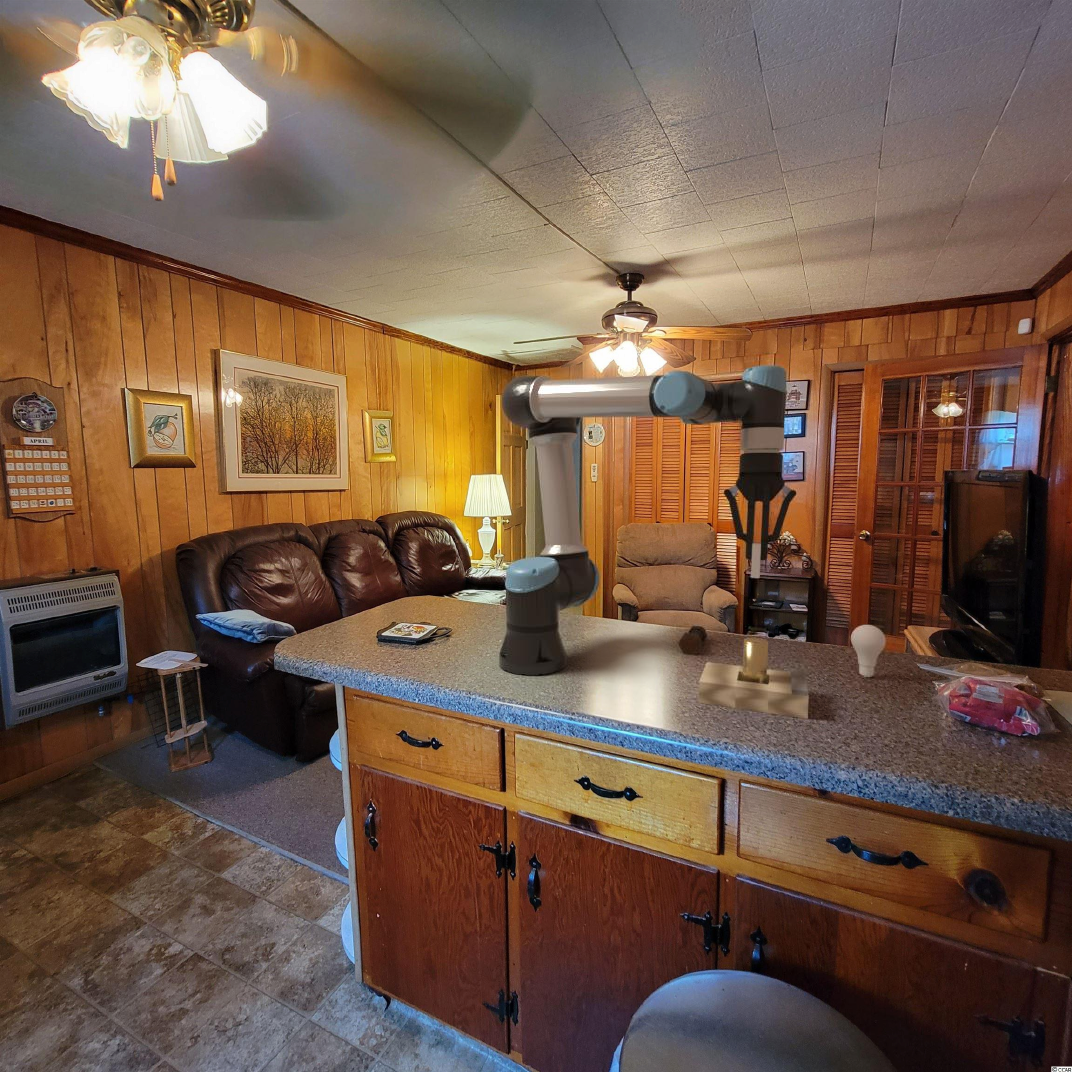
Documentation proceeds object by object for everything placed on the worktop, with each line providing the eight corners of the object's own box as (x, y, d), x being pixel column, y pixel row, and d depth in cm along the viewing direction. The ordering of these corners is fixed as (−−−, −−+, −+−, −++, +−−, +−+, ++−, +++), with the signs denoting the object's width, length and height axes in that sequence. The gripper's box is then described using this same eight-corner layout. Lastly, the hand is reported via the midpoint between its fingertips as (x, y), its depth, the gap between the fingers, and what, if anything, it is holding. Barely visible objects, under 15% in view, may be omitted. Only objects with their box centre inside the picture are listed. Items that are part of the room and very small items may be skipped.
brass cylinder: (741, 700, 102) (743, 642, 101) (741, 692, 106) (744, 636, 105) (765, 704, 100) (768, 644, 99) (765, 696, 104) (767, 639, 103)
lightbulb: (854, 670, 118) (856, 620, 117) (887, 677, 114) (890, 625, 112) (845, 677, 114) (847, 625, 113) (878, 685, 109) (881, 630, 108)
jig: (698, 702, 101) (699, 677, 101) (706, 681, 112) (707, 658, 112) (807, 718, 94) (808, 691, 93) (804, 694, 105) (805, 669, 104)
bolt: (702, 646, 143) (693, 661, 129) (685, 634, 144) (674, 648, 131) (714, 628, 141) (706, 641, 127) (697, 616, 143) (687, 628, 129)
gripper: (799, 452, 103) (792, 576, 106) (726, 453, 109) (721, 571, 111) (800, 450, 97) (793, 583, 99) (722, 452, 102) (717, 577, 105)
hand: (755, 576), depth 105 cm, fingers closed
